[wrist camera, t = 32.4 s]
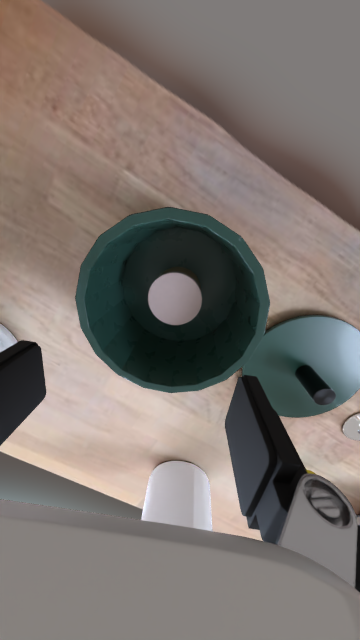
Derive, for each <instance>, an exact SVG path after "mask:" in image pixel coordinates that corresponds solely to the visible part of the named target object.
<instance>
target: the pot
mask: <svg viewBox="0 0 360 640" xmlns="http://www.w3.org/2000/svg"><path fill="white" fill-rule="evenodd" d="M172 267H183V268H186V269H189V270H190V271H192V272H193V273H194V274H195V275H196V276H197V278H198V280H199V282H200V286H201V294H202V305H201V308H200V310H199V312H198V314H197V315H196V316H195V317H194V318H193V319H192V320H191V321H189V322H187V323H185V324H181V325H170V324H167V323H164V322H162V321H160V320H159V319H158V318H157V317H156V316H155V315H154V314H153V313H152V311H151V309H150V307H149V303H148V293H149V289H150V287H151V285H152V284H153V282H154V281H155V280H156V279H157V278H158V277H159V276H160V275H161V274H162V273H163V272H164V271H166V270H167V269H169V268H172ZM75 297H76V298H75V299H76V305H77V310H78V315H79V320H80V326H81V329H82V331H83V333H84V334H85V336H86V338H87V340H88V341H89V343H90V345H91V347H92V348H93V350H94V352H95V354H96V355H97V356H98V357H99V358H100V359H101V360H102V361H104V362H105V363H106V364H107V365H108V366H109V367H110V368H111V369H112V370H113V371H114V372H115V373H116V374H118V375H119V376H121V377H123V378H125V379H127V380H129V381H131V382H133V383H135V384H137V385H139V386H141V387H143V388H147V389H152V390H158V391H163V392H168V393H177V392H188V391H199V390H202V389H204V388H207V387H209V386H212V385H214V384H217V383H220V382H222V381H225V380H226V379H228V378H229V377H230V376H231V375H233V374H234V373H235V372H236V371H237V370H239V369H240V368H241V367H242V366H243V365H245V364H246V363H247V362H248V361H249V360H250V358H251V356H252V355H253V353H254V351H255V350H256V348H257V346H258V345H259V343H260V341H261V340H262V338H263V336H264V334H265V329H266V323H267V318H268V312H269V307H270V300H269V295H268V290H267V285H266V280H265V275H264V270H263V268H262V266H261V265H260V263H259V262H258V260H257V259H256V257H255V256H254V254H253V253H252V251H251V250H250V248H249V247H248V245H247V244H246V242H245V241H244V239H243V238H241V236H240V235H238V234H237V233H235V232H234V231H232V230H231V229H229V228H228V227H226V226H225V225H223V224H222V223H220V222H219V221H217V220H216V219H214V218H213V217H211V216H210V215H209V216H208V214H203V213H198V212H193V211H188V210H183V209H178V208H173V207H165V208H160V209H155V210H151V211H146V212H141V213H136V214H131V215H129V216H127V217H126V218H124V219H123V220H122V221H120V222H119V223H117V224H116V225H114V226H113V227H111V228H110V229H109V230H107V231H106V232H104V233H103V234H101V235H100V236H99V237H98V239H97V240H96V242H95V244H94V245H93V247H92V248H91V250H90V252H89V253H88V255H87V256H86V258H85V260H84V261H83V263H82V264H81V268H80V273H79V279H78V285H77V291H76V296H75Z"/></svg>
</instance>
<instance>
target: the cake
mask: <svg viewBox="0 0 360 640" xmlns="http://www.w3.org/2000/svg"><path fill="white" fill-rule="evenodd" d="M148 303H149V307H150V309H151V311H152V313H153V314H154V315H155V316H156V317H157V318H158V319H159V320H160V321H162V322H164V323H167V324H170V325H181V324H185V323H187V322H189V321H191V320H192V319H193V318H194V317H195V316H196V315H197V314H198V312H199V310H200V308H201V305H202V294H201V286H200V282H199V280H198V278H197V276H196V275H195V274H194V273H193V272H192V271H190V270H189V269H186V268H183V267H172V268H169V269H167V270H166V271H164V272H163V273H162V274H161V275H160V276H159V277H158V278H157V279H156V280H155V281H154V282H153V284H152V285H151V287H150V289H149V293H148Z"/></svg>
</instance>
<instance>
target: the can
mask: <svg viewBox="0 0 360 640" xmlns="http://www.w3.org/2000/svg"><path fill="white" fill-rule="evenodd" d="M141 520H145V521H151V522H158V523H164V524H171V525H177V526H184V527H190V528H196V529H202V530H208V531H212V516H211V499H210V483H209V480H208V478H207V476H206V474H205V472H204V471H203V470H202V469H201V468H199V467H197V466H196V465H194V464H191V463H188V462H184V461H169V462H165V463H162V464H160V465H158V466H157V467H156V468H155V469H154V470H153V471H152V473H151V475H150V478H149V482H148V487H147V492H146V498H145V503H144V508H143V513H142V518H141Z"/></svg>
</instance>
